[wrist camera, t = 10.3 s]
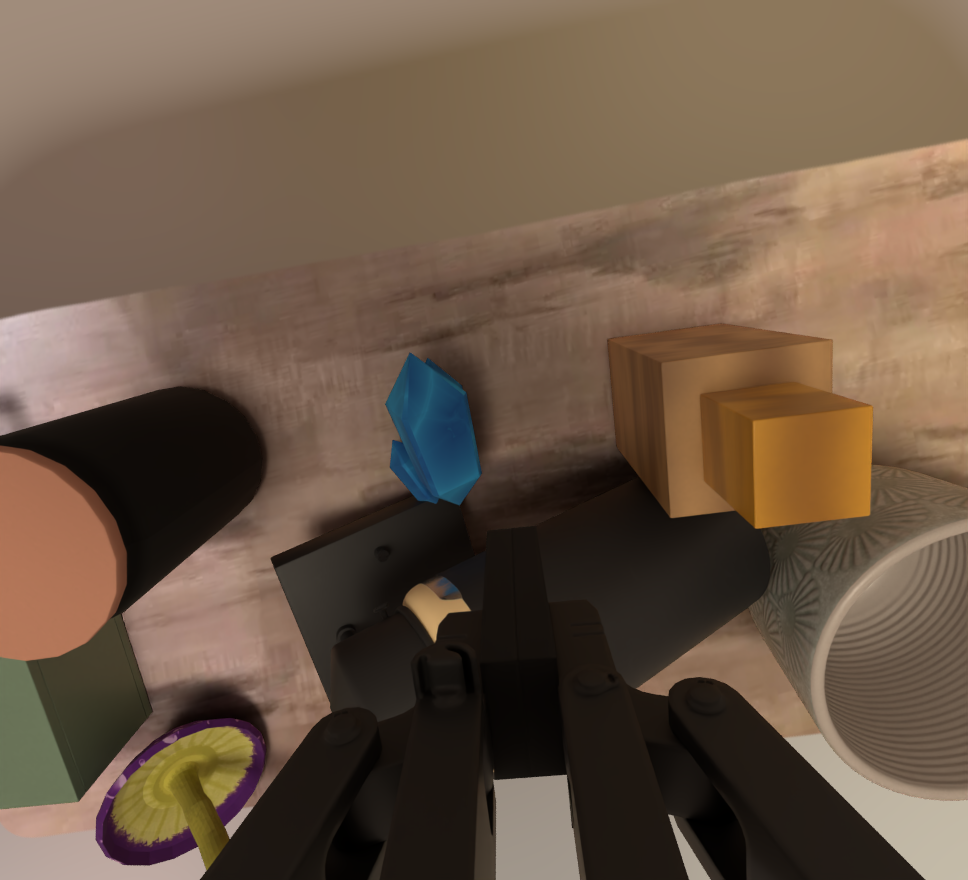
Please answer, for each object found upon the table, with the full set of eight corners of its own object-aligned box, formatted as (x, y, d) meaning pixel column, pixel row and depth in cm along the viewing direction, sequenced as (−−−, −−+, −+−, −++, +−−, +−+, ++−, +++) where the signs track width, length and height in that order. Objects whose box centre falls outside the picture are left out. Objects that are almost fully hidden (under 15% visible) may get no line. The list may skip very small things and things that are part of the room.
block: (703, 482, 29) (755, 529, 23) (699, 393, 28) (752, 420, 22) (795, 470, 29) (871, 516, 23) (795, 381, 28) (874, 405, 22)
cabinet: (-30, 584, 47) (-151, 651, 38) (106, 568, 47) (14, 632, 38) (24, 725, 51) (-76, 816, 42) (152, 711, 50) (78, 802, 41)
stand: (616, 447, 43) (670, 518, 30) (607, 338, 41) (660, 362, 28) (725, 433, 43) (831, 499, 29) (721, 323, 41) (833, 339, 27)
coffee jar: (118, 383, 43) (-144, 447, 25) (261, 383, 43) (96, 447, 25) (140, 519, 45) (-84, 661, 28) (275, 520, 45) (134, 663, 28)
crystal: (386, 543, 39) (320, 381, 34) (427, 471, 46) (378, 328, 41) (491, 538, 37) (438, 364, 31) (517, 464, 44) (478, 311, 38)
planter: (935, 624, 46) (1140, 782, 31) (718, 655, 47) (818, 820, 32) (937, 418, 42) (1174, 488, 27) (700, 457, 43) (805, 544, 28)
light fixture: (787, 649, 37) (420, 926, 27) (607, 560, 52) (333, 714, 42) (760, 459, 33) (325, 697, 23) (576, 424, 48) (268, 557, 39)
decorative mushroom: (111, 884, 34) (63, 720, 44) (142, 1011, 38) (92, 835, 48) (312, 765, 42) (233, 649, 52) (318, 881, 46) (243, 754, 56)
